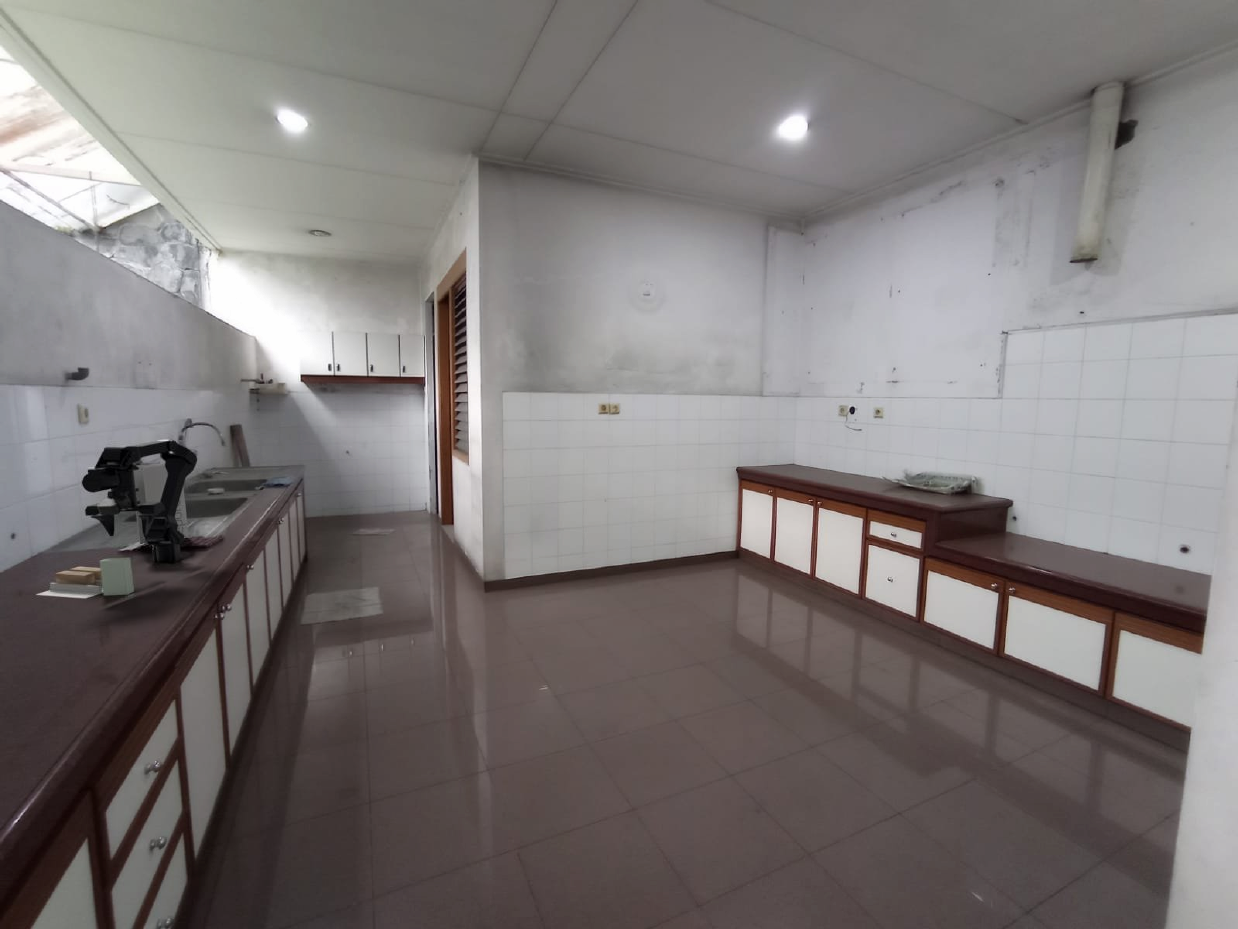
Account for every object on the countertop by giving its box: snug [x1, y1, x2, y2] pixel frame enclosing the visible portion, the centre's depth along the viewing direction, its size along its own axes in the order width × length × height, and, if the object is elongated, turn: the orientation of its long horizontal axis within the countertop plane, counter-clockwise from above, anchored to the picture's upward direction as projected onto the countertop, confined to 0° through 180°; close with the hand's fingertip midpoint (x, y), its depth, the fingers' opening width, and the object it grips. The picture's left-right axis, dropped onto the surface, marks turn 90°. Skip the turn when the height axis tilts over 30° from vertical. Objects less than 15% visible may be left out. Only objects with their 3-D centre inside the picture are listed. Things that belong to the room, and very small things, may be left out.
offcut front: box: [69, 566, 102, 580], centre depth 165 cm, size 2×10×4 cm, turn 82°
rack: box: [35, 580, 104, 599], centre depth 162 cm, size 13×16×3 cm
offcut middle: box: [54, 570, 95, 586], centre depth 162 cm, size 2×10×4 cm, turn 82°
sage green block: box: [99, 557, 135, 598], centre depth 158 cm, size 2×6×11 cm, turn 100°
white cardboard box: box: [134, 462, 190, 545], centre depth 209 cm, size 14×6×30 cm, turn 168°
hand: (128, 535), depth 174 cm, fingers open, 9 cm apart
